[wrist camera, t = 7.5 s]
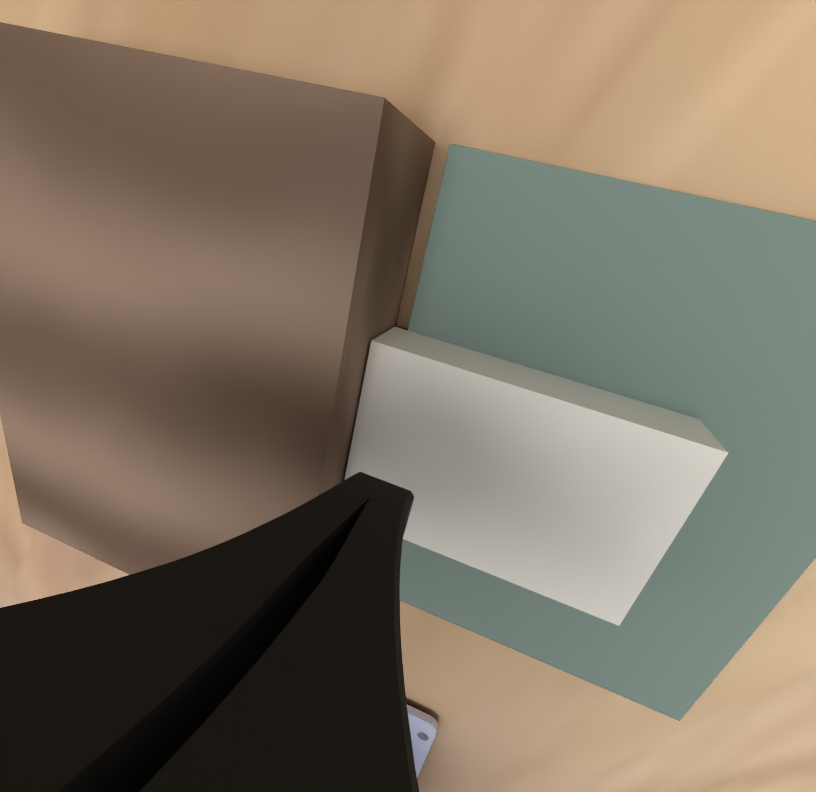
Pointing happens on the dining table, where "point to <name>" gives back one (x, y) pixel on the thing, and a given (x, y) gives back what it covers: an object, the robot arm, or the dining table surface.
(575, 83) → the dining table surface
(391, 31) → the dining table surface
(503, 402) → the flat white box
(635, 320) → the mat
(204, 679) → the robot arm
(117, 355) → the plate
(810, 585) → the dining table surface
